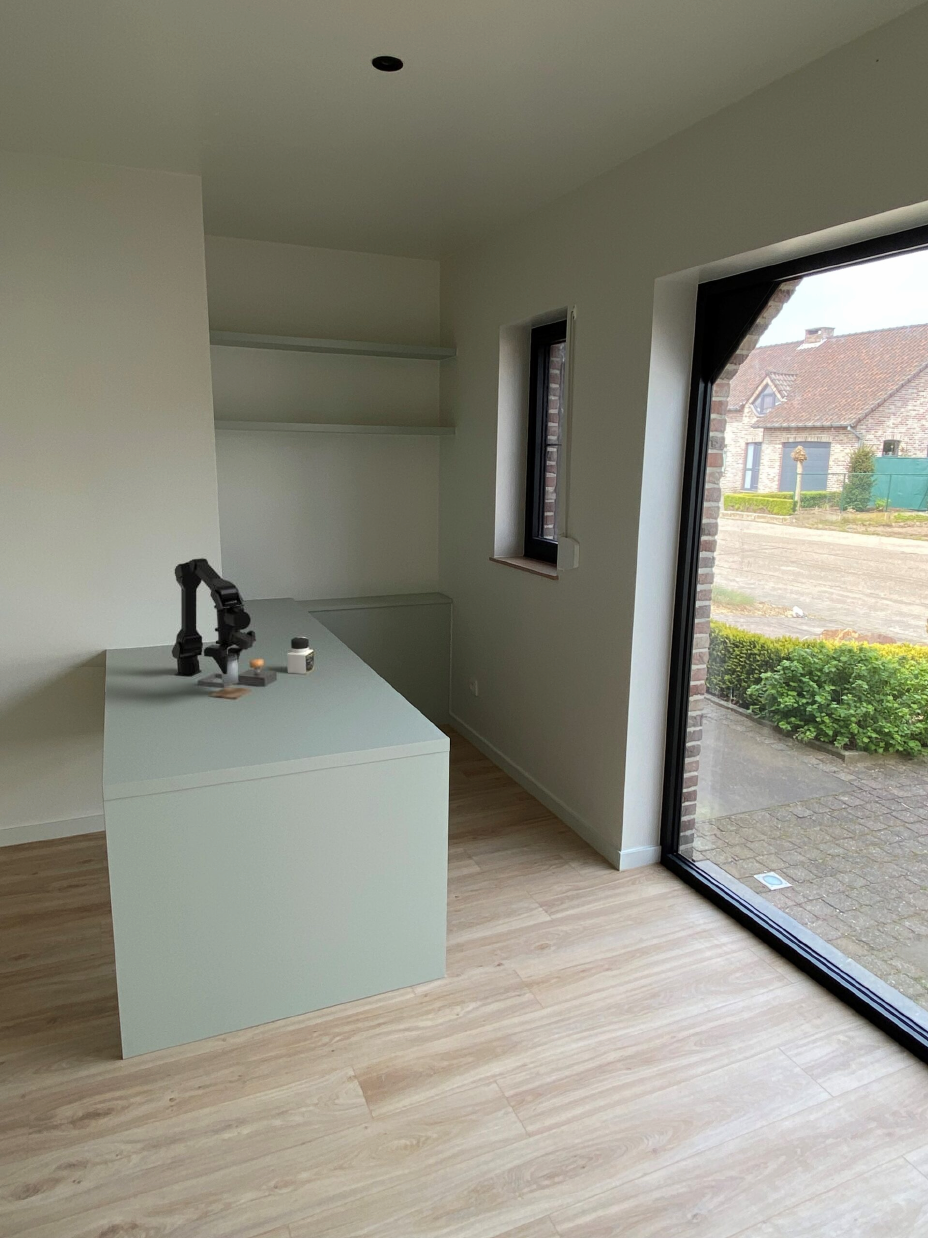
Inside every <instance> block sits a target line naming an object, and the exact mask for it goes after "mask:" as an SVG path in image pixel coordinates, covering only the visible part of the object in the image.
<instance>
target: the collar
mask: <svg viewBox="0 0 928 1238" xmlns="http://www.w3.org/2000/svg"><path fill="white" fill-rule="evenodd" d="M214 679H222V672H213V673H211V674H209V675H206V676H205V677H203V678H200V679H198V680H197V685H198V686H202V687H210V688H211V687H212V688H213V687H214V688H221V689H223V688H225V687H230V685H226V684H223V683H222V681H215V680H214ZM212 680H213V681H212Z"/></svg>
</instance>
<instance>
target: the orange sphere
mask: <svg viewBox="0 0 928 1238" xmlns="http://www.w3.org/2000/svg"><path fill="white" fill-rule="evenodd" d="M264 665H265V664H264V659H263V658H252V659H250V660H249V667H250V669H254V674H259V673H260V670H261V668H263V667H264Z"/></svg>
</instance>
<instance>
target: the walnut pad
mask: <svg viewBox="0 0 928 1238" xmlns="http://www.w3.org/2000/svg"><path fill="white" fill-rule="evenodd" d="M251 691H252V689H251V688H244V687H242V688H241V687H233V686H232V687H231V686H227V687H225V688H220V689H219V690H217V691H216V692H213V693H212V694H210V697H211V698H218V697H219V698H220V699H229V700H230V699H231V700H237V699H239V698H242V697H243V696H244V695H246V694H249V693H250V692H251Z"/></svg>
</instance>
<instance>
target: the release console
mask: <svg viewBox="0 0 928 1238" xmlns="http://www.w3.org/2000/svg"><path fill="white" fill-rule="evenodd" d="M277 677H278V675H277V670H276V671H275V670H266V669H260V673H259V674H254V668H249V669H247V670H245V671H243V672H241V673H238V681H239V682H238V683H237V684H238V685H246V686H254V687H255V686H257V687H266V686H269V685H270V684H272V683H274V682H275V681H277V680H278V679H277Z"/></svg>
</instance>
